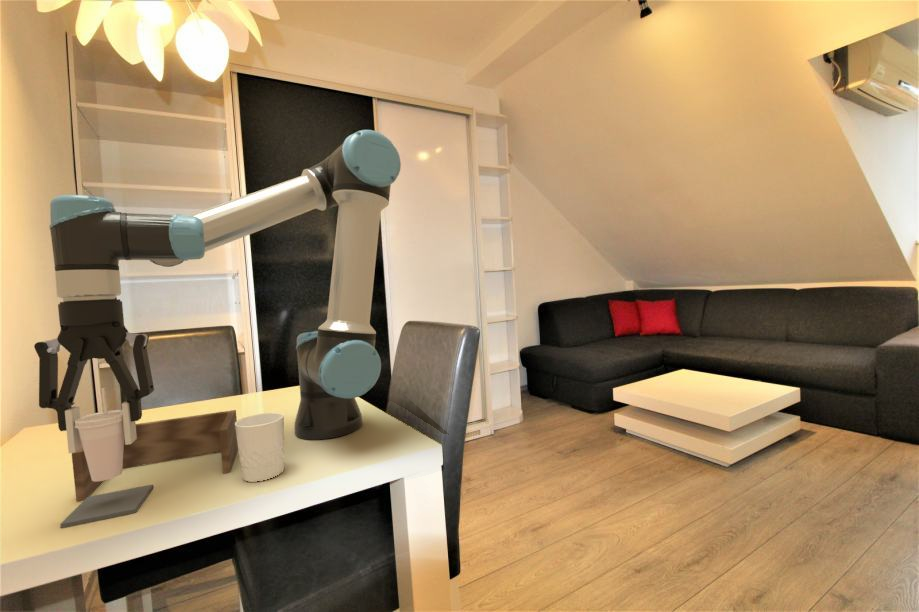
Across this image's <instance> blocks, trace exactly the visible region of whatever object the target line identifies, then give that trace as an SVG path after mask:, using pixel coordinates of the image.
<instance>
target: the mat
mask: <svg viewBox="0 0 919 612" xmlns="http://www.w3.org/2000/svg"><path fill="white" fill-rule="evenodd" d="M153 489H154V484H148V485H144V486H138V487H132V488H126V489H121V490H116V491H110V492H105V493H100V494H94V495H90V496H89V497H87V498H86V499H85V500H82V502H81V503H80V504H79V505H78V506H77V507H75V509H74V510H72V511H71V513H70V514H69V515H68V516H67V517H65V518H64V520H63V521H62V522H61V523H60V525H59V528H60V529H64V528H68V527H73V526H74V527H75V526H77V525H78V526H79V525H82V524H87V523H93V522H97V521H102V520H107V519H113V518H116V517H122V516H127V515H131V514H136V513H137V512H138V510H139V509H140V508H141V506H142V504H144V502H145V500H146V499H147V498H148V496H149V495H150V493H151V492H152V490H153Z"/></svg>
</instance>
